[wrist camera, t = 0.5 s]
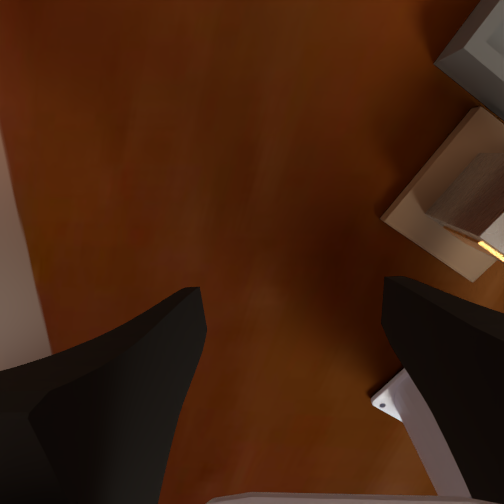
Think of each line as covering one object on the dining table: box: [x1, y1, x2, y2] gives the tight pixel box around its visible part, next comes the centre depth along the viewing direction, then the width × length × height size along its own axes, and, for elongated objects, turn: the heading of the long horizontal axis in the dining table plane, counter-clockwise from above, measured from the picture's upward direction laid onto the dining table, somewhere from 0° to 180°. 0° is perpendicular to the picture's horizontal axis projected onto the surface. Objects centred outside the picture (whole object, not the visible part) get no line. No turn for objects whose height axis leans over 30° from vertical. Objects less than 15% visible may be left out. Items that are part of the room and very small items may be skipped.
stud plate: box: [380, 106, 504, 282], centre depth 17 cm, size 8×8×3 cm
